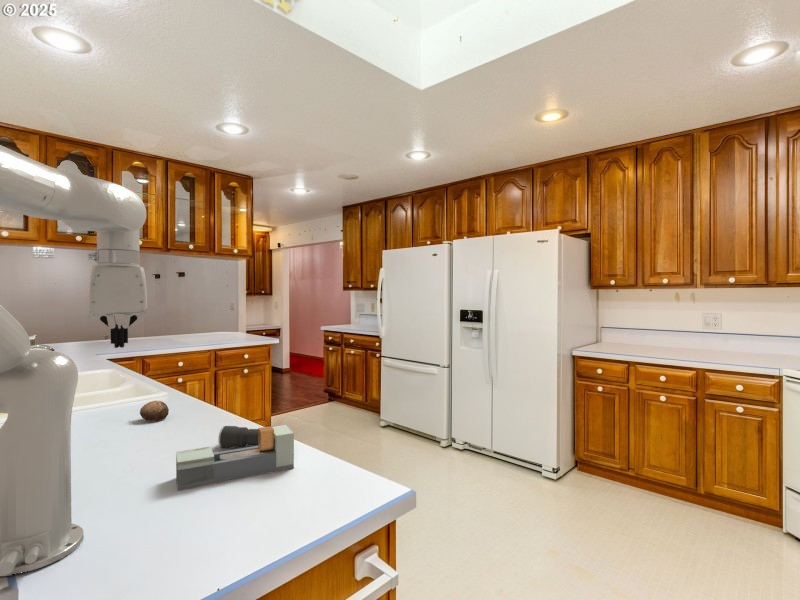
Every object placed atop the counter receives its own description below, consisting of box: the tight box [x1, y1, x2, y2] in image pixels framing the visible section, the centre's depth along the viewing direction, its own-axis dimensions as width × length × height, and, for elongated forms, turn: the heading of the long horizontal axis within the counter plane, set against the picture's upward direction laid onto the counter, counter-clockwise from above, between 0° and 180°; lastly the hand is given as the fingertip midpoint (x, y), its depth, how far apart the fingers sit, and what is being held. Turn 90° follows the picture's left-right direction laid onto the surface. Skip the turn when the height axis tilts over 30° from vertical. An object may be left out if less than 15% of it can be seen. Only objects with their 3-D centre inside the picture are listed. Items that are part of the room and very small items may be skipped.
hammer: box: [219, 425, 275, 461], centre depth 99 cm, size 14×3×8 cm, turn 119°
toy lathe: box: [175, 424, 295, 492], centre depth 98 cm, size 24×7×8 cm, turn 119°
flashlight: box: [218, 425, 258, 448], centre depth 115 cm, size 15×5×5 cm, turn 89°
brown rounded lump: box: [139, 400, 170, 423], centre depth 137 cm, size 8×8×6 cm
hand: (119, 346), depth 92 cm, fingers closed
